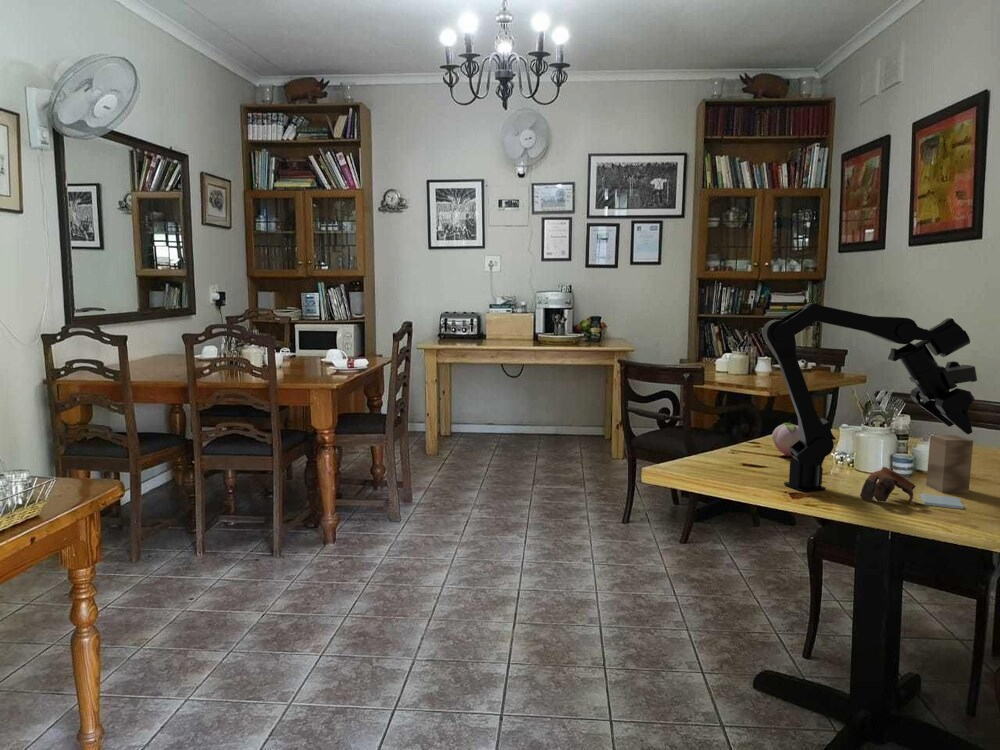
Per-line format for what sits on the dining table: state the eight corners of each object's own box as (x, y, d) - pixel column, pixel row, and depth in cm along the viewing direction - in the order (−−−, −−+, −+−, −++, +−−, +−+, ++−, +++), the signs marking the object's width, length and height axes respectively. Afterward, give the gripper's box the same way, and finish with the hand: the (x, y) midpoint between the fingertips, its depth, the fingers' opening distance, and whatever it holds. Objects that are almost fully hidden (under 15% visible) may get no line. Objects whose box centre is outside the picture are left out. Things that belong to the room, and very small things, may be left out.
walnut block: (941, 492, 162) (946, 440, 160) (926, 485, 168) (930, 434, 166) (968, 493, 162) (973, 440, 160) (951, 486, 168) (956, 435, 166)
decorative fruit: (811, 460, 192) (813, 423, 191) (781, 460, 192) (783, 423, 191) (796, 452, 202) (798, 417, 201) (767, 452, 202) (769, 417, 200)
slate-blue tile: (924, 504, 152) (924, 501, 152) (920, 496, 158) (920, 493, 158) (963, 509, 149) (963, 506, 149) (957, 500, 156) (958, 497, 156)
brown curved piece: (857, 494, 162) (879, 463, 160) (899, 520, 157) (921, 489, 156) (852, 492, 152) (876, 460, 150) (896, 520, 147) (921, 486, 145)
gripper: (978, 352, 147) (1019, 418, 146) (940, 346, 165) (976, 404, 165) (926, 380, 149) (965, 445, 149) (894, 371, 167) (929, 428, 167)
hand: (960, 429), depth 157 cm, fingers open, 9 cm apart
